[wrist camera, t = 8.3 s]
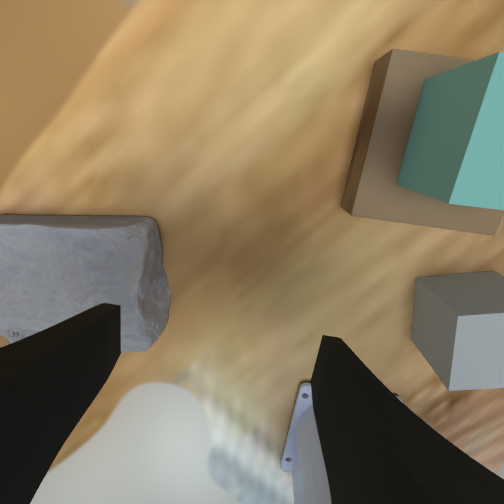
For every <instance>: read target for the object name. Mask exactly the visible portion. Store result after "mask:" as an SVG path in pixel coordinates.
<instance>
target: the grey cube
mask: <svg viewBox="0 0 504 504" xmlns="http://www.w3.org/2000/svg"><path fill="white" fill-rule="evenodd" d="M411 340H412V341H413V342H414V344H415V345H416V347H417V348H418V349H419V351H420V352H421V353H422V355H423V356H424V358H425V359H426V360H427V362H428V363H429V364H430V366H431V367H432V369H433V370H434V371H435V373H436V374H437V375H438V377H439V378H440V380H441V381H442V382H443V384H444V385H445V386H446V388H447V389H448V391H455V390H472V389H490V388H504V276H502V275H500V274H498V273H497V272H495V271H484V272H472V273H460V274H448V275H436V276H424V277H416V280H415V295H414V310H413V324H412V339H411Z"/></svg>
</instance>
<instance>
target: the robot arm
mask: <svg viewBox="0 0 504 504" xmlns="http://www.w3.org/2000/svg"><path fill="white" fill-rule="evenodd" d="M120 354H121V305H115V304H109V303H102V304H99V305H97V306H94V307H92V308H90V309H88V310H85V311H83V312H81V313H79V314H77V315H75V316H73V317H71V318H68V319H66V320H64V321H62V322H60V323H58V324H56V325H53V326H51V327H49V328H47V329H45V330H42V331H40V332H38V333H35V334H33V335H31V336H28V337H26V338H24V339H21V340H19V341H16V342H14V343H12V344H9V345H7V346H4V347H1V348H0V504H30V502H31V501H32V499H33V497H34V495H35V493H36V491H37V489H38V488H39V486H40V484H41V482H42V480H43V479H44V477H45V475H46V473H47V471H48V470H49V468H50V466H51V464H52V463H53V461H54V459H55V457H56V455H57V454H58V452H59V451H60V449H61V447H62V446H63V444H64V443H65V441H66V440H67V438H68V437H69V435H70V434H71V432H72V431H73V429H74V428H75V426H76V425H77V423H78V422H79V421H80V419H81V418H82V416H83V415H84V413H85V412H86V410H87V409H88V407H89V406H90V405H91V403H92V402H93V400H94V399H95V397H96V396H97V394H98V393H99V391H100V390H101V388H102V387H103V385H104V384H105V382H106V381H107V379H108V377H109V376H110V374H111V372H112V370H113V368H114V366H115V364H116V362H117V360H118V358H119V356H120ZM304 393H306V395H303V394H304ZM281 469H282V470H283V471H286V472H292V477H293V490H294V503H295V504H504V479H502V478H501V477H499V476H498V475H496V474H494V473H493V472H491V471H490V470H488V469H487V468H486V467H484V466H483V465H481V464H480V463H478V462H477V461H475V460H474V459H472V458H471V457H470V456H468V455H467V454H466V453H464V452H463V451H461V450H460V449H459V448H457V447H456V446H455V445H453V444H452V443H451V442H449V441H448V440H446V439H445V438H444V437H443V436H441V435H440V434H439V433H437V432H436V431H435V430H434V429H432V428H431V427H430V426H429V425H428V424H426V423H425V422H424V421H423V420H422V419H421V418H419V417H418V416H417V415H416V414H415V413H413V412H412V411H411V410H410V409H409V408H408V407H407V406H405V405H404V404H403V402H402V400H401V398H400V397H399V396H395V395H394V394H393V393H392V392H391V391H390V390H389V389H388V388H387V387H386V386H385V385H384V384H383V383H382V382H381V381H380V380H379V379H378V378H377V377H376V376H375V375H374V374H373V373H372V372H371V371H370V370H369V369H368V368H367V367H366V366H365V364H364V363H363V362H362V361H361V360H360V359H359V358H358V357H357V356H356V355H355V353H354V352H353V351H352V350H351V349H350V348H349V347H348V346H347V345H346V344H345V342H344V341H343V340H342V339H341V338H338V337H331V336H325V335H323V336H322V340H321V344H320V348H319V352H318V355H317V359H316V363H315V367H314V371H313V374H312V378H311V383H302V384H301V385H300V387H299V391H298V395H297V399H296V403H295V407H294V411H293V415H292V419H291V423H290V427H289V431H288V435H287V439H286V443H285V447H284V451H283V455H282V459H281Z"/></svg>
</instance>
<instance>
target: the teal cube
mask: <svg viewBox="0 0 504 504" xmlns="http://www.w3.org/2000/svg"><path fill="white" fill-rule="evenodd" d="M397 185H398V186H401V187H404V188H406V189H409V190H412V191H415V192H417V193H420V194H423V195H426V196H429V197H431V198H434V199H437V200H440V201H442V202H445V203H448V204H455V205H464V206H472V207H480V208H489V209H497V210H504V52H498V53H495V54H493V55H490V56H487V57H484V58H482V59H479V60H476V61H473V62H471V63H468V64H465V65H462V66H460V67H457V68H454V69H452V70H449V71H446V72H443V73H441V74H438V75H435V76H432V77H430V78H427V79H425V81H424V85H423V89H422V93H421V96H420V100H419V104H418V107H417V111H416V115H415V118H414V122H413V126H412V130H411V133H410V137H409V141H408V144H407V148H406V152H405V155H404V159H403V163H402V167H401V170H400V174H399V178H398V181H397Z"/></svg>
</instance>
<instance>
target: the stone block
mask: <svg viewBox="0 0 504 504" xmlns="http://www.w3.org/2000/svg"><path fill="white" fill-rule="evenodd" d="M166 278H167V275H166V273H165V271H164V270H163V265H162V247H161V241H160V236H159V232H158V226H157V224H156V222H155V220H154V219H152V218H150V217H147V216H83V215H40V216H39V215H0V335H2V336H5V337H7V338H8V339H9V341H10V342H11V343H14V342H16V341H19V340H21V339H24V338H26V337H28V336H31V335H33V334H35V333H38V332H40V331H42V330H45V329H47V328H49V327H51V326H53V325H56V324H58V323H60V322H62V321H64V320H66V319H68V318H71V317H73V316H75V315H77V314H79V313H81V312H83V311H85V310H88V309H90V308H92V307H94V306H97V305H99V304H102V303H109V304H115V305H121V351H122V352H124V353H125V352H140V351H146V350H148V348H150V347H151V346H152V345H153V343H154V342H155V341H156V340H157V339H158V338H159V336H160V335H161V333H162V332H163V330H164V328H165V325H166V322H167V321H168V316H169V305H170V301H171V291H170V289H169V285H168V282H167V279H166Z"/></svg>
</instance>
